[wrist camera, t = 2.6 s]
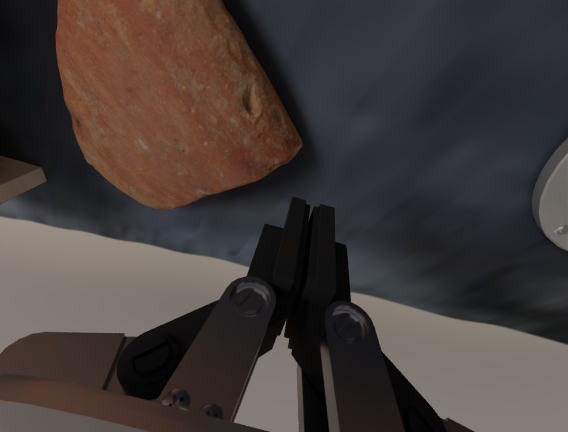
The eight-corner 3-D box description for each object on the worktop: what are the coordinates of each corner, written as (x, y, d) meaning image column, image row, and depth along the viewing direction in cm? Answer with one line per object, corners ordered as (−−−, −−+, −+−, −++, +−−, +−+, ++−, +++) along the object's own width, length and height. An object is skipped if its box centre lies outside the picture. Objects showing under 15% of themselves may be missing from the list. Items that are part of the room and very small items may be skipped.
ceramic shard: (-66, 58, 14) (115, -190, 9) (48, 70, 20) (193, -78, 15) (121, 262, 18) (306, 161, 14) (169, 223, 24) (309, 143, 20)
